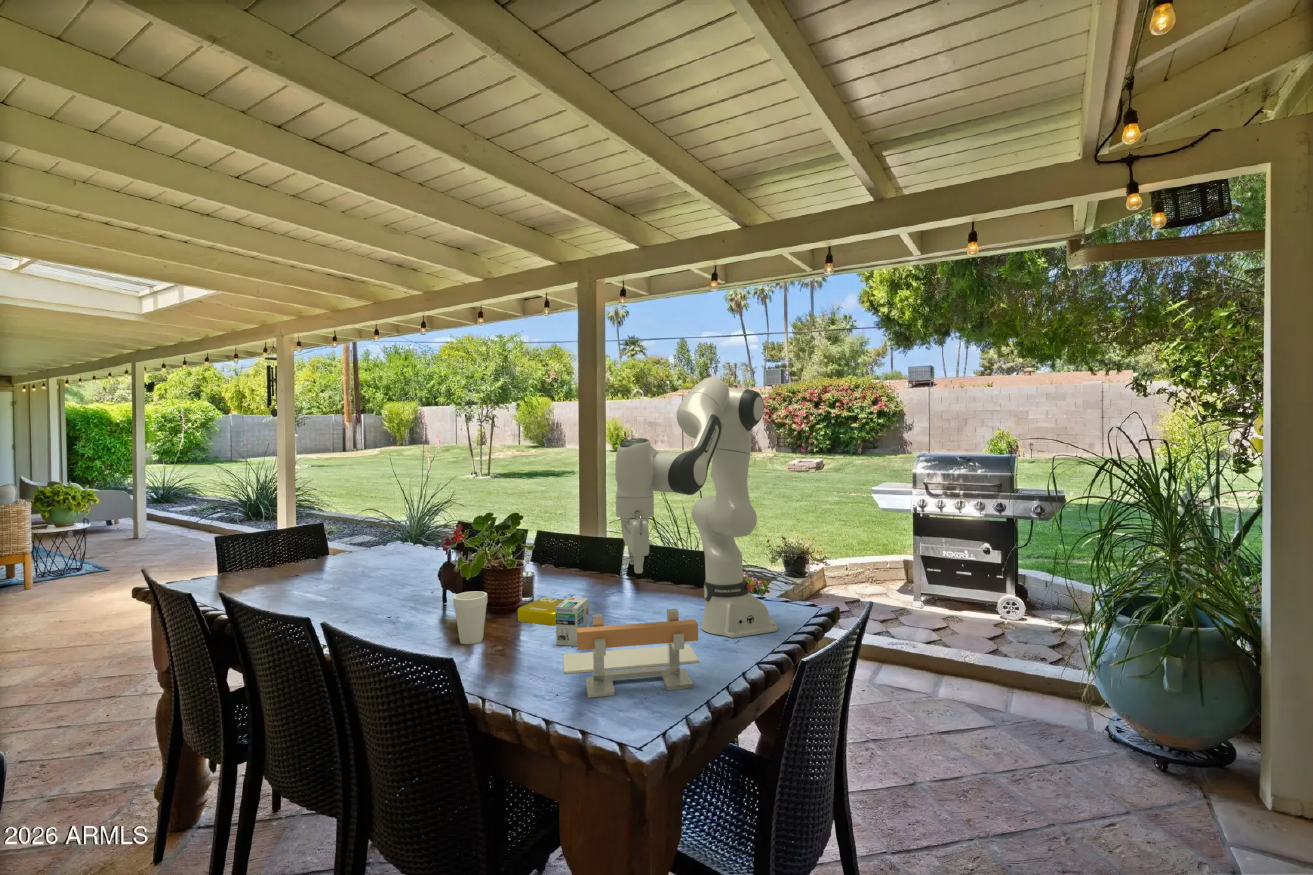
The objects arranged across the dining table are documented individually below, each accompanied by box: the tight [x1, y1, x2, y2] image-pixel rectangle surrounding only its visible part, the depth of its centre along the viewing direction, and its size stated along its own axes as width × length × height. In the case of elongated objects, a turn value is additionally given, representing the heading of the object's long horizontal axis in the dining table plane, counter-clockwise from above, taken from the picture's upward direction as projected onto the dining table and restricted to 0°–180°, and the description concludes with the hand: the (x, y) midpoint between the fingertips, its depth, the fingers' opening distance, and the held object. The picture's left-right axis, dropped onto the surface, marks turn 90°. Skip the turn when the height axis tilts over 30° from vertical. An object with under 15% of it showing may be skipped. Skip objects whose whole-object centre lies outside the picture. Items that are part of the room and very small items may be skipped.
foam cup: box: [452, 590, 488, 645], centre depth 176 cm, size 10×9×13 cm
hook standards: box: [585, 608, 694, 699], centre depth 142 cm, size 24×9×16 cm, turn 100°
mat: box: [562, 644, 700, 675], centre depth 158 cm, size 34×12×1 cm, turn 100°
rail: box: [576, 619, 699, 651], centre depth 141 cm, size 28×3×4 cm, turn 100°
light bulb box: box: [555, 597, 590, 647], centre depth 175 cm, size 11×7×11 cm, turn 168°
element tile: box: [517, 597, 565, 627], centre depth 197 cm, size 15×15×5 cm
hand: (635, 568), depth 141 cm, fingers open, 8 cm apart
